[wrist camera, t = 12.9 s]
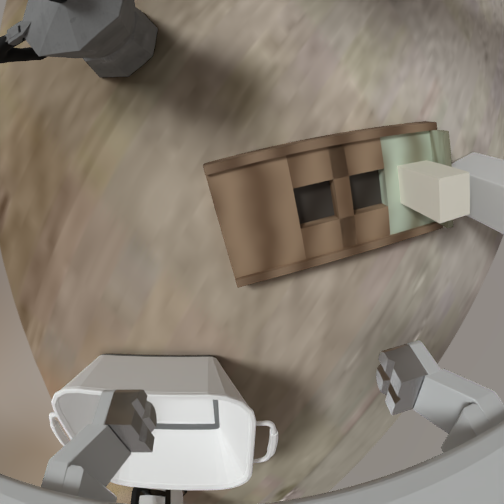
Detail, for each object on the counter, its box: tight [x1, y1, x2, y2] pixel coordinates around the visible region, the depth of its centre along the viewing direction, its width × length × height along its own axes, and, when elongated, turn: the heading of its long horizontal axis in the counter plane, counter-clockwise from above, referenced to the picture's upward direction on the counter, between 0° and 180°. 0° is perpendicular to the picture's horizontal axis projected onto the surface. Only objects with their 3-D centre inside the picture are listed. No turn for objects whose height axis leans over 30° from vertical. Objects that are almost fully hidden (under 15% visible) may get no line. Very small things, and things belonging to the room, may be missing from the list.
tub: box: [49, 354, 278, 490], centre depth 42 cm, size 34×27×13 cm
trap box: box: [203, 121, 453, 287], centre depth 36 cm, size 30×15×5 cm, turn 103°
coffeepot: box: [0, 0, 158, 77], centre depth 20 cm, size 15×9×18 cm, turn 105°
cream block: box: [397, 160, 470, 223], centre depth 33 cm, size 5×5×8 cm
